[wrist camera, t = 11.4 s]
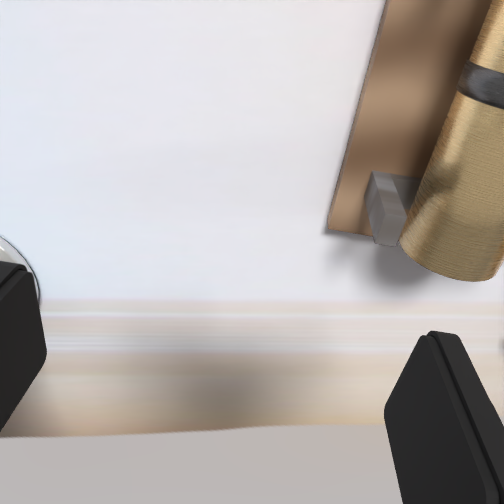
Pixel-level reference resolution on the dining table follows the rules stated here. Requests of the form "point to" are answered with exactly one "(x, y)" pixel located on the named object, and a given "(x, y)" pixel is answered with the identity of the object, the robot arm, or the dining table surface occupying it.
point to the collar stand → (402, 112)
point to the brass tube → (466, 171)
